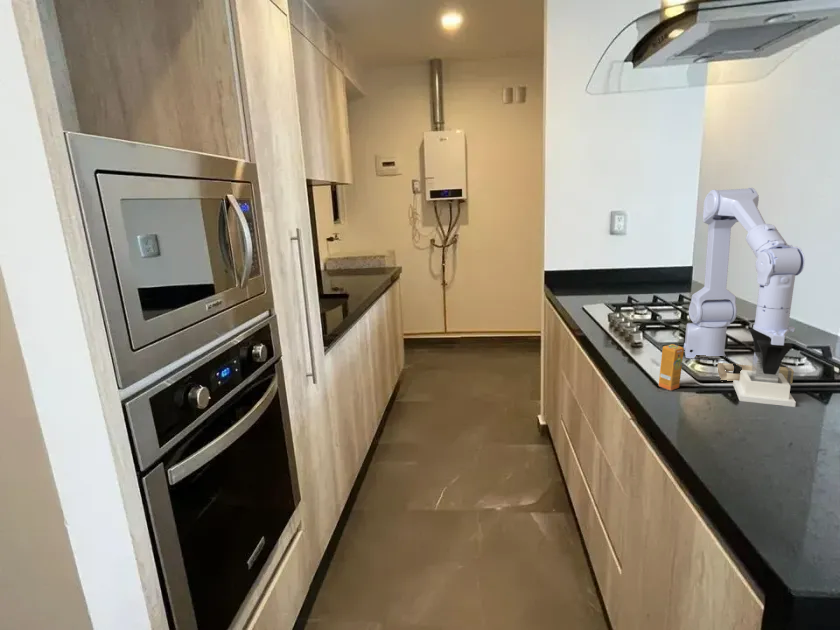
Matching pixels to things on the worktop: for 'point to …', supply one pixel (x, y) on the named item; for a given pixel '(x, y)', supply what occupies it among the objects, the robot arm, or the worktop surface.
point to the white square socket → (763, 390)
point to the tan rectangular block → (787, 373)
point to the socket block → (730, 367)
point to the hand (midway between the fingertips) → (765, 367)
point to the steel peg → (761, 371)
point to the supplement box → (671, 367)
